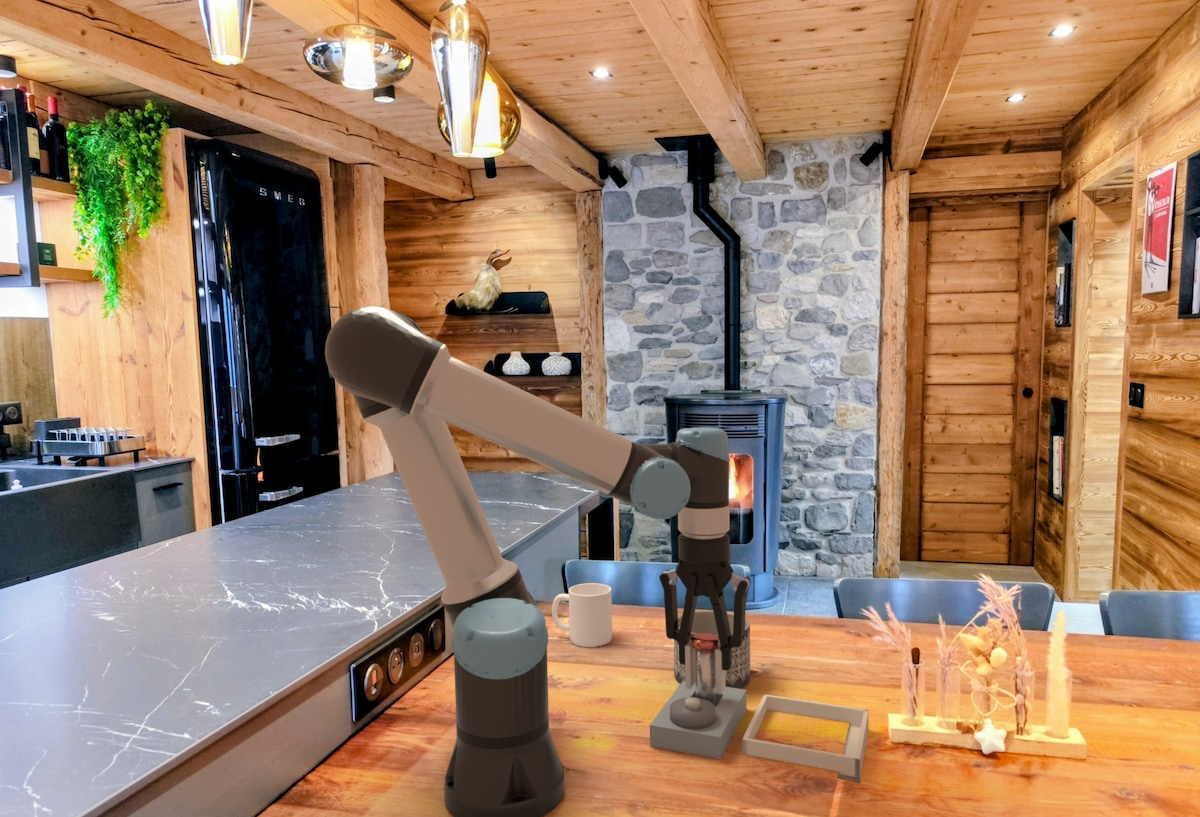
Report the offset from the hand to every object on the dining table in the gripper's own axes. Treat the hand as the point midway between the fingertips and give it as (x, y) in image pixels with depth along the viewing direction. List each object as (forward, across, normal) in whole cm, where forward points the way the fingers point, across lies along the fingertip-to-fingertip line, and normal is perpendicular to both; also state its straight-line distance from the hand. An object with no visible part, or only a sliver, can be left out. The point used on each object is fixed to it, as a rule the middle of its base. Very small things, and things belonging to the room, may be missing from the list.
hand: (705, 687), depth 117 cm
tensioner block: (+6, 0, +3) cm, 6 cm away
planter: (+6, +3, -15) cm, 16 cm away
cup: (+6, +32, -26) cm, 42 cm away
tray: (+6, -15, +1) cm, 16 cm away
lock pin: (+5, 0, 0) cm, 5 cm away
